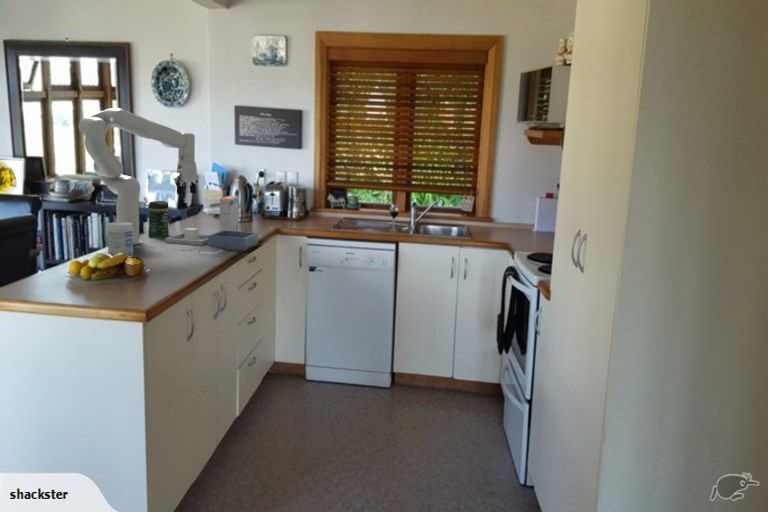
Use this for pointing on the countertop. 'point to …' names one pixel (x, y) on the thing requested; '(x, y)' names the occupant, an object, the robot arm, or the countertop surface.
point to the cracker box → (229, 213)
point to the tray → (180, 240)
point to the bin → (233, 240)
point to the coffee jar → (158, 219)
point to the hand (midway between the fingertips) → (186, 193)
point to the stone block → (191, 234)
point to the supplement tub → (120, 238)
